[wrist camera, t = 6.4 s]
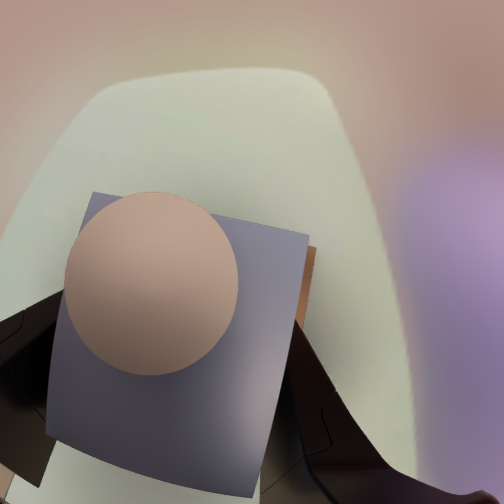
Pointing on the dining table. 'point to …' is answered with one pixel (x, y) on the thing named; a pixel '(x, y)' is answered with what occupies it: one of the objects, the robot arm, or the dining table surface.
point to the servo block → (173, 340)
